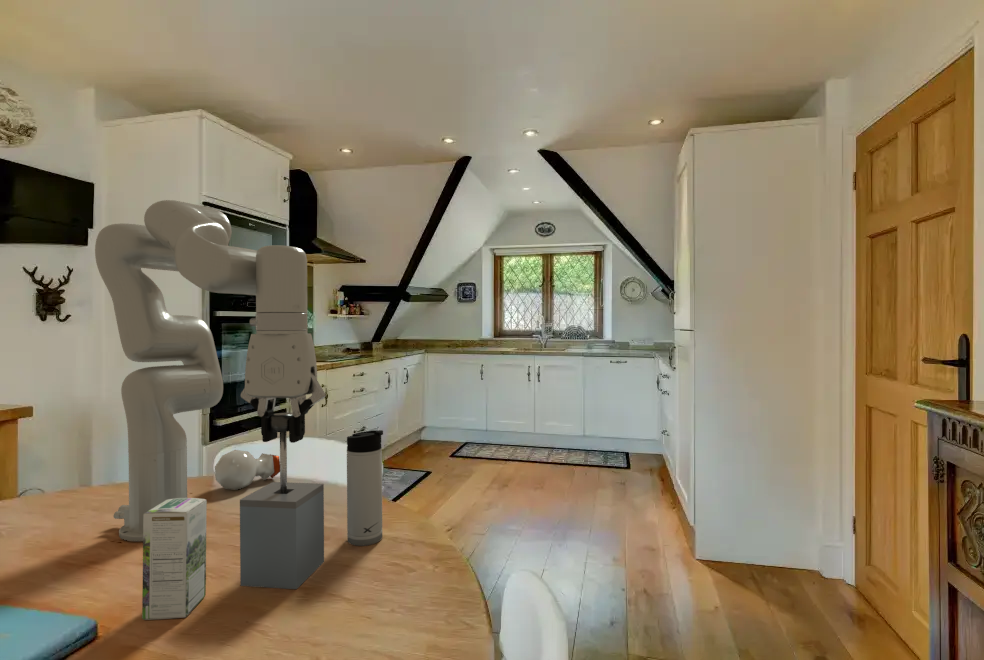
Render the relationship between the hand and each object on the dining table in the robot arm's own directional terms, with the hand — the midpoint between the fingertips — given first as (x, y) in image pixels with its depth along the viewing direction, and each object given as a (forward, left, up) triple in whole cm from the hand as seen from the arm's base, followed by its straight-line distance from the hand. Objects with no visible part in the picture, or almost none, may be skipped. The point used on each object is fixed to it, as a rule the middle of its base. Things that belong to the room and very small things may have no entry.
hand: (283, 439), depth 81 cm
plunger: (0, 0, -11) cm, 11 cm away
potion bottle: (-34, +42, -22) cm, 58 cm away
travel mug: (+8, +14, -21) cm, 27 cm away
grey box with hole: (0, 0, -21) cm, 21 cm away
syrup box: (-10, -11, -21) cm, 26 cm away
